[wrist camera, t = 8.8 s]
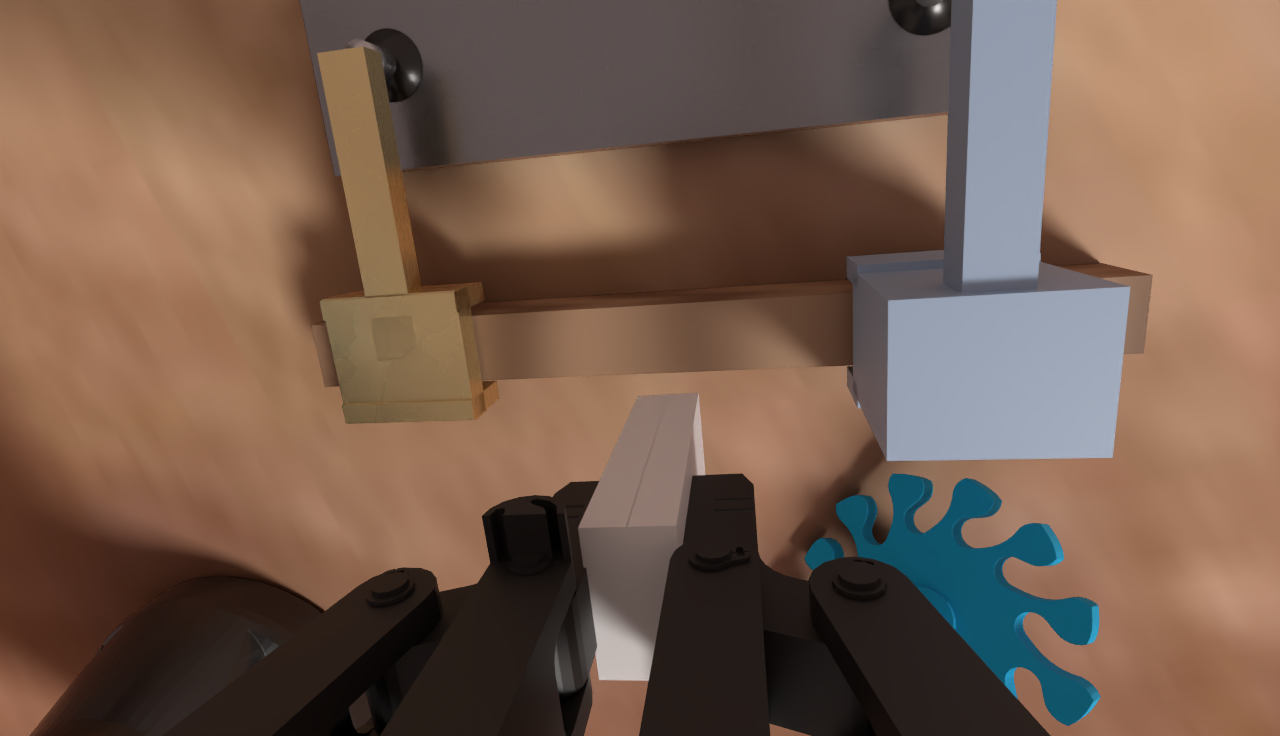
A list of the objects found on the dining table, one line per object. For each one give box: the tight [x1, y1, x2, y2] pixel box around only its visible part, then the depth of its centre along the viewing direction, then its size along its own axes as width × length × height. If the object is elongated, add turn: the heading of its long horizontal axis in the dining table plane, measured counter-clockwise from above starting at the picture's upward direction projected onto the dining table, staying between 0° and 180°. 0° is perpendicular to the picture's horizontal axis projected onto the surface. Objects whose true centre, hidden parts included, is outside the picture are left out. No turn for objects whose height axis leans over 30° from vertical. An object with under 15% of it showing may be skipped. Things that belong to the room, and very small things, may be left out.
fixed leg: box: [317, 39, 499, 424], centre depth 23 cm, size 5×13×3 cm, turn 5°
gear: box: [805, 474, 1100, 726], centre depth 24 cm, size 11×6×10 cm
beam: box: [311, 263, 1152, 387], centre depth 24 cm, size 28×2×3 cm, turn 96°
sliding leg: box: [846, 0, 1130, 461], centre depth 18 cm, size 5×13×7 cm, turn 5°
